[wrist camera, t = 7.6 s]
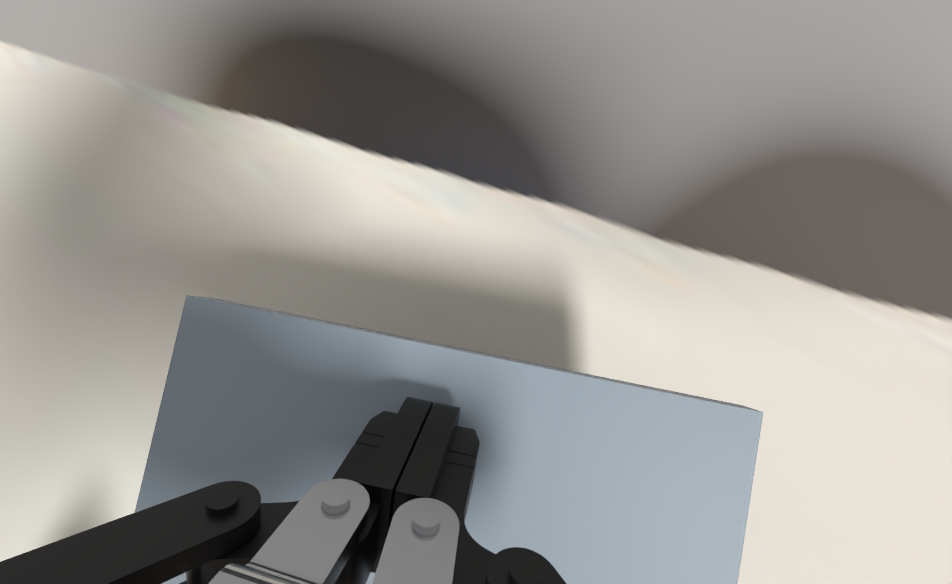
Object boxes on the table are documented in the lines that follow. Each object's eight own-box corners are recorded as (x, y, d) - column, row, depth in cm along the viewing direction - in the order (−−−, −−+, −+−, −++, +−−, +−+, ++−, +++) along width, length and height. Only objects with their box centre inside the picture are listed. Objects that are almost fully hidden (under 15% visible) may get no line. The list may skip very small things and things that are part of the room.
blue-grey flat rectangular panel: (678, 978, 12) (763, 412, 12) (70, 781, 13) (186, 295, 14) (654, 884, 14) (729, 401, 14) (128, 722, 15) (227, 299, 16)
